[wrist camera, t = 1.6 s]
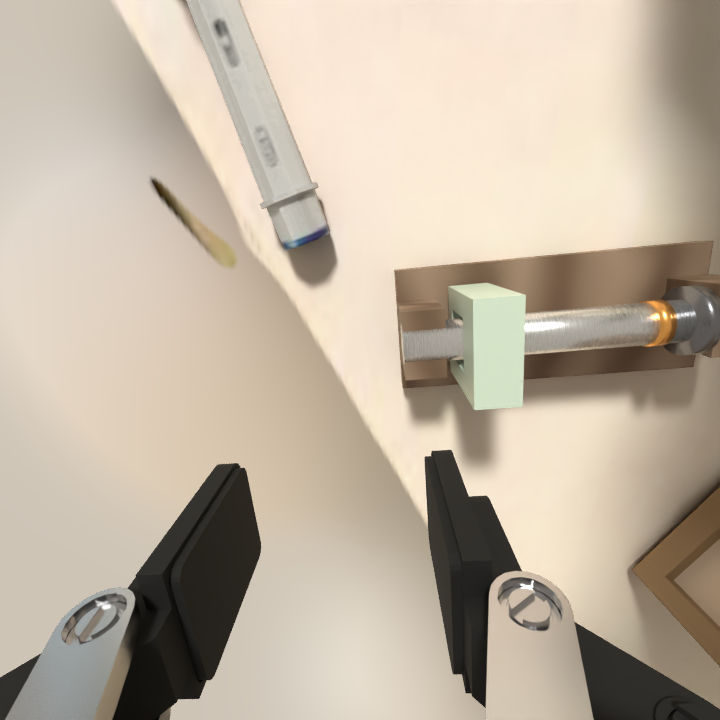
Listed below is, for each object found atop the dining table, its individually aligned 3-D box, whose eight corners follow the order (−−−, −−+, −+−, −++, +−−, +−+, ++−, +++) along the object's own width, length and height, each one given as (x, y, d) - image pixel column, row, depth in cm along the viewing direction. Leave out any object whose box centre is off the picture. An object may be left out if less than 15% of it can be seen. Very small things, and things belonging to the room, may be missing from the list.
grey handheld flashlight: (271, 256, 28) (55, -234, 19) (287, 245, 34) (129, -129, 25) (337, 231, 28) (147, -291, 18) (341, 224, 34) (200, -169, 24)
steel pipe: (402, 365, 31) (406, 385, 26) (398, 306, 29) (402, 317, 25) (715, 341, 29) (778, 358, 25) (726, 277, 28) (795, 283, 23)
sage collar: (450, 370, 32) (474, 410, 24) (448, 286, 30) (473, 299, 22) (487, 368, 31) (522, 406, 24) (486, 282, 30) (525, 295, 22)
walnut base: (402, 382, 34) (407, 412, 28) (394, 269, 32) (398, 275, 25) (679, 361, 33) (750, 388, 27) (697, 241, 30) (780, 239, 24)
